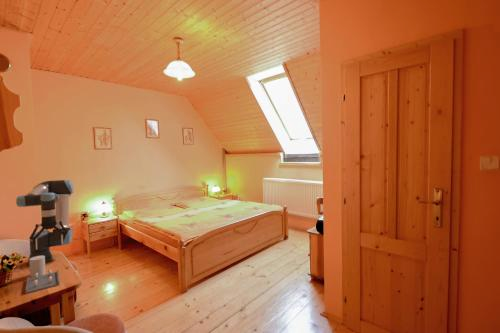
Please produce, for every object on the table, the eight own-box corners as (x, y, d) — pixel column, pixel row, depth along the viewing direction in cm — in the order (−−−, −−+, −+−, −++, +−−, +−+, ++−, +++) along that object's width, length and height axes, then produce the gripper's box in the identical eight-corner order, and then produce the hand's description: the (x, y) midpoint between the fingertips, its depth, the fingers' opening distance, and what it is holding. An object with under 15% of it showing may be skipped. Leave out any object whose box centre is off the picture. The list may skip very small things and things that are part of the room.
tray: (27, 280, 163) (27, 272, 163) (58, 272, 173) (57, 265, 173) (25, 294, 146) (25, 285, 146) (59, 284, 156) (59, 277, 156)
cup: (47, 273, 173) (47, 256, 172) (33, 278, 165) (33, 261, 165) (41, 271, 176) (41, 254, 176) (27, 276, 169) (26, 259, 168)
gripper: (23, 219, 156) (25, 252, 157) (71, 213, 172) (72, 243, 173) (23, 217, 161) (25, 249, 162) (70, 211, 178) (71, 240, 179)
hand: (49, 246), depth 168 cm, fingers open, 13 cm apart
